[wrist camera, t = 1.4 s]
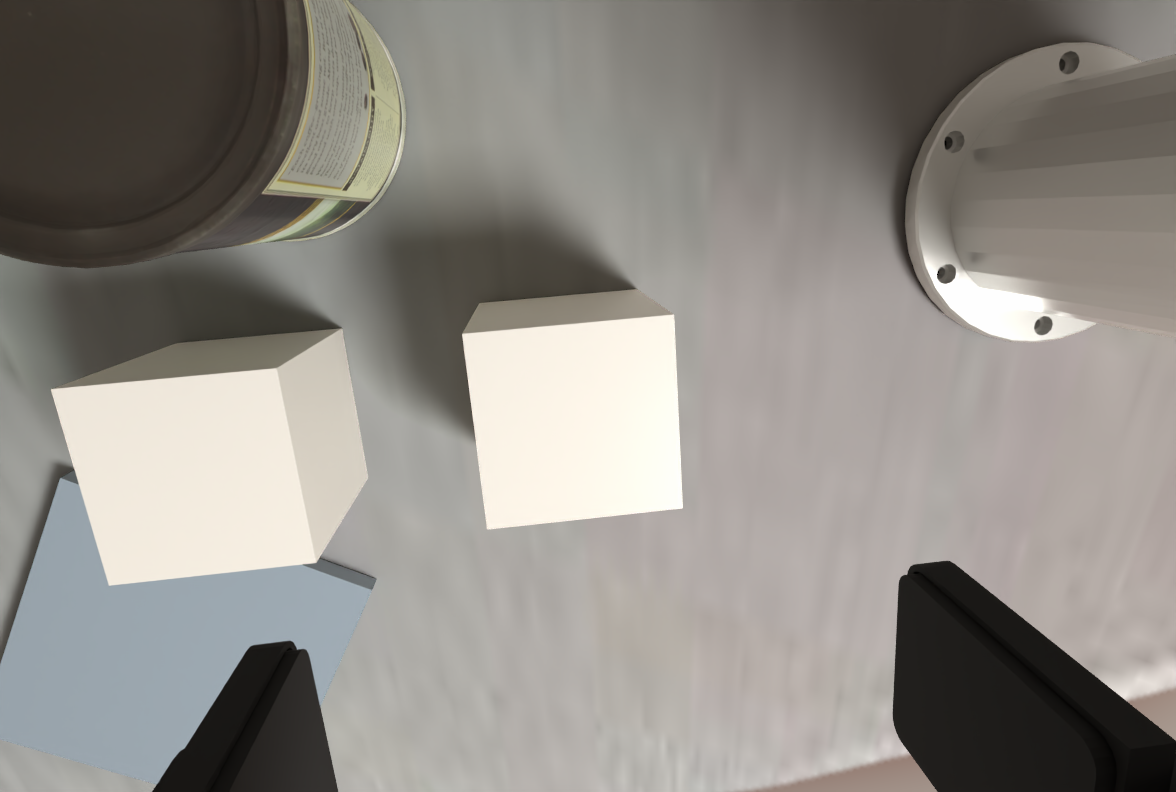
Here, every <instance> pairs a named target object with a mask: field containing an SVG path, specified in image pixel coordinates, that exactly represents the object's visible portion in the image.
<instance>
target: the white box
mask: <svg viewBox="0 0 1176 792" xmlns="http://www.w3.org/2000/svg"><path fill="white" fill-rule="evenodd" d="M51 392H52V395H53V398H54V402H55V405H56V408H57V412H58V415H59V419H60V422H61V425H62V429H63V432H64V435H65V439H66V442H67V446H68V449H69V452H70V456H71V459H72V463H73V466H74V469H75V473H76V476H77V479H78V483H79V486H80V490H81V493H82V496H83V500H84V503H85V507H86V510H87V513H88V517H89V520H90V523H91V527H92V530H93V534H94V537H95V540H96V544H97V547H98V551H99V554H100V557H101V561H102V564H103V567H104V571H105V574H106V578H107V581H108V584H109V586H111V585H120V584H129V583H138V582H148V581H157V580H166V579H175V578H184V577H193V576H202V575H211V574H220V573H229V572H238V571H247V570H257V569H266V568H275V567H284V566H293V565H302V564H311V563H317V561H318V559H319V558H320V556H321V554H322V553H323V551H324V550H325V548H326V546H327V545H328V543H329V541H330V540H331V538H332V536H333V535H334V533H335V531H336V530H337V528H338V527H339V525H340V523H341V522H342V520H343V518H344V517H345V515H346V513H347V512H348V510H349V509H350V507H351V505H352V504H353V502H354V500H355V499H356V497H357V495H358V494H359V492H360V490H361V489H362V487H363V486H364V484H365V482H366V481H367V479H368V474H367V468H366V462H365V457H364V451H363V445H362V439H361V434H360V428H359V422H358V417H357V411H356V405H355V400H354V394H353V388H352V382H351V377H350V371H349V365H348V360H347V354H346V348H345V342H344V337H343V331H342V328H340V329H329V330H318V331H306V332H295V333H284V334H273V335H262V336H251V337H240V338H228V339H217V340H206V341H195V342H184V343H176V344H173V345H170V346H167V347H165V348H162V349H159V350H156V351H154V352H151V353H148V354H146V355H143V356H140V357H137V358H135V359H132V360H129V361H126V362H124V363H121V364H118V365H115V366H113V367H110V368H107V369H105V370H102V371H99V372H96V373H94V374H91V375H88V376H85V377H83V378H80V379H77V380H74V381H72V382H69V383H66V384H64V385H61V386H58V387H55V388H53V389H51Z"/></svg>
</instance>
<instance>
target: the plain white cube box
mask: <svg viewBox="0 0 1176 792" xmlns="http://www.w3.org/2000/svg"><path fill="white" fill-rule="evenodd" d="M462 337H463V345H464V353H465V360H466V368H467V376H468V384H469V392H470V399H471V407H472V415H473V423H474V430H475V438H476V446H477V454H478V462H479V469H480V477H481V485H482V493H483V500H484V508H485V516H486V524H487V529H497V528H506V527H515V526H524V525H534V524H543V523H552V522H561V521H570V520H580V519H589V518H598V517H607V516H616V515H626V514H635V513H644V512H653V511H662V510H672V509H681V508H683V503H682V481H681V459H680V437H679V415H678V393H677V370H676V348H675V326H674V314H672V313H671V312H669V311H668V310H667V309H665V308H664V307H662V306H661V305H659V304H658V303H656V302H655V301H654V300H652V299H651V298H649V297H648V296H646V295H645V294H643V293H642V292H641V291H639V290H638V289H633V290H621V291H610V292H599V293H588V294H576V295H565V296H554V297H543V298H531V299H520V300H509V301H497V302H486V303H479V305H478V306H477V308H476V310H475V312H474V313H473V315H472V317H471V319H470V321H469V322H468V324H467V326H466V328H465V330H464V331H463V333H462Z"/></svg>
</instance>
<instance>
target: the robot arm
mask: <svg viewBox="0 0 1176 792" xmlns="http://www.w3.org/2000/svg"><path fill="white" fill-rule="evenodd" d="M945 140H946V143H947V144H946V147H945V145H944V141H945ZM905 231H906V238H907V245H908V252H909V255H910V258H911V261H912V264H913V267H914V270H915V273H916V275H917V278H918V279H919V281H920V283H921V284H922V286H923V288H924V289H925V291H926V293H927V294H928V296H929V298H930V299H931V300H932V301H933V302H934V303H935V304H936V305H937V306H938V307H939V308H940V309H941V310H942V312H943V313H944V314H945V315H947V316H948V317H950V318H951V319H953V320H954V321H956V322H957V323H958V324H960V325H961V326H963V327H964V328H967V329H969V330H972V331H974V332H977V333H980V334H982V335H985V336H988V337H992V338H996V339H1001V340H1005V341H1009V342H1024V343H1037V342H1044V341H1051V340H1058V339H1061V338H1064V337H1067V336H1070V335H1073V334H1076V333H1079V332H1082V331H1085V330H1086V329H1088V328H1090V327H1092V326H1094V325H1096V324H1097V323H1100V324H1105V325H1110V326H1115V327H1121V328H1126V329H1131V330H1136V331H1142V332H1147V333H1152V334H1157V335H1162V336H1168V337H1173V338H1176V54H1174V55H1170V56H1166V57H1162V58H1158V59H1154V60H1150V61H1146V62H1142V61H1140V60H1139V59H1137V58H1135V57H1133V56H1131V55H1129V54H1127V53H1125V52H1123V51H1121V50H1119V49H1117V48H1113V47H1109V46H1104V45H1100V44H1095V43H1090V42H1084V43H1060V44H1055V45H1051V46H1047V47H1042V48H1038V49H1034V50H1031V51H1029V52H1026V53H1023V54H1020V55H1017V56H1015V57H1012V58H1009V59H1007V60H1005V61H1003V62H1002V63H1000V64H998V65H996V66H995V67H993V68H991V69H989V70H988V71H986V72H984V73H982V74H981V75H980V76H979V77H977V78H976V79H975V80H974V81H973V82H971V83H970V84H969V85H968V86H967V87H965V88H964V89H963V90H962V91H961V92H959V94H958V95H957V96H956V97H955V98H954V99H953V101H952V102H951V103H950V104H949V105H948V106H947V108H946V109H945V110H944V111H943V112H942V113H941V115H940V116H939V117H938V119H937V121H936V122H935V124H934V126H933V127H932V129H931V130H930V132H929V134H928V135H927V137H926V139H925V140H924V142H923V145H922V147H921V149H920V152H919V154H918V157H917V159H916V162H915V164H914V167H913V169H912V174H911V178H910V183H909V187H908V192H907V197H906V212H905ZM938 269H939V275H938V276H937V272H938ZM893 721H894V726H895V729H896V732H897V734H898V737H899V738H900V740H901V742H902V743H903V745H904V746H905V747H906V749H907V750H908V752H909V753H910V754H911V756H912V757H913V758H914V760H915V761H916V763H917V764H918V765H919V767H920V768H921V769H922V771H923V772H924V773H925V775H926V776H927V777H928V779H929V780H930V782H931V783H932V785H933V786H934V787H935V789H936V790H937V791H938V792H1176V741H1175V740H1174V739H1173V738H1172V737H1170V736H1169V735H1168V734H1167V733H1165V732H1164V731H1163V730H1162V729H1160V728H1159V727H1158V726H1157V725H1155V724H1154V723H1153V722H1152V721H1150V720H1149V719H1148V718H1147V717H1145V716H1144V715H1143V714H1142V713H1140V712H1139V711H1138V710H1137V709H1135V708H1134V707H1133V706H1132V705H1130V704H1129V703H1128V702H1127V701H1125V700H1124V699H1123V698H1122V697H1120V696H1119V695H1118V694H1117V693H1115V692H1114V691H1113V690H1112V689H1110V688H1109V687H1108V686H1107V685H1105V684H1104V683H1103V682H1102V681H1100V680H1099V679H1098V678H1097V677H1095V676H1094V675H1093V674H1092V673H1090V672H1089V671H1088V670H1087V669H1085V668H1084V667H1083V666H1082V665H1080V664H1079V663H1078V662H1077V661H1075V660H1074V659H1073V658H1072V657H1070V656H1069V655H1068V654H1067V653H1065V652H1064V651H1063V650H1062V649H1060V648H1059V647H1058V646H1057V645H1055V644H1054V643H1053V642H1052V641H1050V640H1049V639H1048V638H1047V637H1045V636H1044V635H1043V634H1042V633H1040V632H1039V631H1038V630H1037V629H1035V628H1034V627H1033V626H1032V625H1030V624H1029V623H1028V622H1027V621H1025V620H1024V619H1023V618H1022V617H1020V616H1019V615H1018V614H1017V613H1015V612H1014V611H1013V610H1012V609H1010V608H1009V607H1008V606H1007V605H1005V604H1004V603H1003V602H1002V601H1000V600H999V599H998V598H997V597H995V596H994V595H993V594H992V593H990V592H989V591H988V590H987V589H985V588H984V587H983V586H982V585H980V584H979V583H978V582H977V581H975V580H974V579H973V578H972V577H970V576H969V575H968V574H967V573H965V572H964V571H963V570H962V569H960V568H959V567H958V566H957V565H955V564H954V563H952V562H950V561H940V562H932V563H924V564H916V565H913V566H911V567H910V568H909V570H908V574H907V575H903V576H902V577H901V578H900V580H899V590H898V612H897V633H896V655H895V676H894V698H893ZM152 792H338V789H337V784H336V779H335V774H334V770H333V765H332V760H331V756H330V751H329V746H328V741H327V737H326V732H325V727H324V722H323V718H322V713H321V708H320V704H319V699H318V694H317V689H316V685H315V680H314V675H313V671H312V666H311V661H310V657H309V654H308V652H307V650H306V649H298V650H297V648H296V646H295V644H294V642H292V641H282V642H274V643H266V644H257V645H252V646H250V647H249V648H248V650H247V651H246V652H245V654H244V656H243V657H242V659H241V660H240V662H239V663H238V665H237V667H236V668H235V670H234V671H233V673H232V674H231V676H230V678H229V679H228V681H227V682H226V684H225V686H224V687H223V689H222V690H221V692H220V693H219V695H218V697H217V698H216V700H215V701H214V703H213V705H212V706H211V708H210V709H209V711H208V712H207V714H206V716H205V717H204V719H203V720H202V722H201V723H200V725H199V727H198V728H197V730H196V731H195V733H194V735H193V736H192V738H191V739H190V741H189V742H188V744H187V746H186V747H185V749H183V750H181V751H180V752H179V753H178V754H177V755H176V757H175V758H174V759H173V760H172V762H171V763H170V765H169V766H168V768H167V770H166V771H165V773H164V774H163V776H162V777H161V779H160V780H159V782H158V784H157V785H156V787H155V788H154V790H153V791H152Z"/></svg>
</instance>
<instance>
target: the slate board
mask: <svg viewBox="0 0 1176 792" xmlns="http://www.w3.org/2000/svg"><path fill="white" fill-rule="evenodd" d="M375 582H376V579H375V578H372V577H369V576H366V575H364V574H361V573H358V572H355V571H353V570H350V569H347V568H344V567H342V566H339V565H336V564H333V563H331V562H328V561H325V560H322V559H320V558H319V559H318V561H317V563H311V564H302V565H293V566H284V567H275V568H266V569H257V570H247V571H238V572H229V573H220V574H211V575H202V576H193V577H184V578H175V579H166V580H157V581H148V582H138V583H129V584H120V585H111V586H109V584H108V581H107V578H106V574H105V571H104V567H103V564H102V561H101V557H100V554H99V551H98V547H97V544H96V540H95V537H94V534H93V530H92V527H91V523H90V520H89V517H88V513H87V510H86V507H85V503H84V500H83V496H82V493H81V490H80V486H79V483H78V479H77V476H76V473H75V470H74V471H72V472H70V473H68V474H67V475H65V476H63V477H61V478H60V480H59V483H58V487H57V490H56V493H55V496H54V499H53V502H52V505H51V508H50V511H49V514H48V518H47V521H46V524H45V527H44V530H43V533H42V536H41V539H40V542H39V546H38V549H37V552H36V555H35V558H34V561H33V564H32V567H31V570H30V573H29V577H28V580H27V583H26V586H25V589H24V592H23V595H22V598H21V601H20V605H19V608H18V611H17V614H16V617H15V620H14V623H13V626H12V629H11V632H10V636H9V639H8V642H7V645H6V648H5V651H4V654H3V657H2V660H1V663H0V740H4V741H7V742H10V743H14V744H17V745H21V746H24V747H28V748H31V749H35V750H38V751H42V752H45V753H49V754H52V755H56V756H59V757H63V758H66V759H70V760H73V761H77V762H80V763H83V764H87V765H90V766H94V767H97V768H101V769H104V770H108V771H111V772H115V773H118V774H122V775H125V776H129V777H132V778H136V779H139V780H143V781H146V782H150V783H153V784H156V785H157V784H158V782H159V780H160V779H161V777H162V776H163V774H164V773H165V771H166V770H167V768H168V766H169V765H170V763H171V762H172V760H173V759H174V758H175V757H176V755H177V754H178V753H179V752H180V751H181V750H183V749H185V747H186V746H187V744H188V742H189V741H190V739H191V738H192V736H193V735H194V733H195V731H196V730H197V728H198V727H199V725H200V723H201V722H202V720H203V719H204V717H205V716H206V714H207V712H208V711H209V709H210V708H211V706H212V705H213V703H214V701H215V700H216V698H217V697H218V695H219V693H220V692H221V690H222V689H223V687H224V686H225V684H226V682H227V681H228V679H229V678H230V676H231V674H232V673H233V671H234V670H235V668H236V667H237V665H238V663H239V662H240V660H241V659H242V657H243V656H244V654H245V652H246V651H247V650H248V648H249V647H250V646H252V645H257V644H266V643H274V642H282V641H292V642H294V644H295V646H296V648H297V650H298V649H306V650H307V652H308V654H309V657H310V661H311V666H312V671H313V675H314V680H315V685H316V689H317V694H318V699H319V704H320V706H321V704H322V701H323V699H324V697H325V695H326V692H327V690H328V688H329V686H330V683H331V681H332V679H333V677H334V674H335V672H336V670H337V668H338V665H339V663H340V661H341V659H342V656H343V654H344V652H345V650H346V647H347V645H348V643H349V641H350V638H351V636H352V634H353V632H354V629H355V627H356V625H357V623H358V620H359V618H360V616H361V614H362V611H363V609H364V607H365V605H366V602H367V600H368V598H369V596H370V593H371V591H372V589H373V586H374V584H375Z"/></svg>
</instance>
